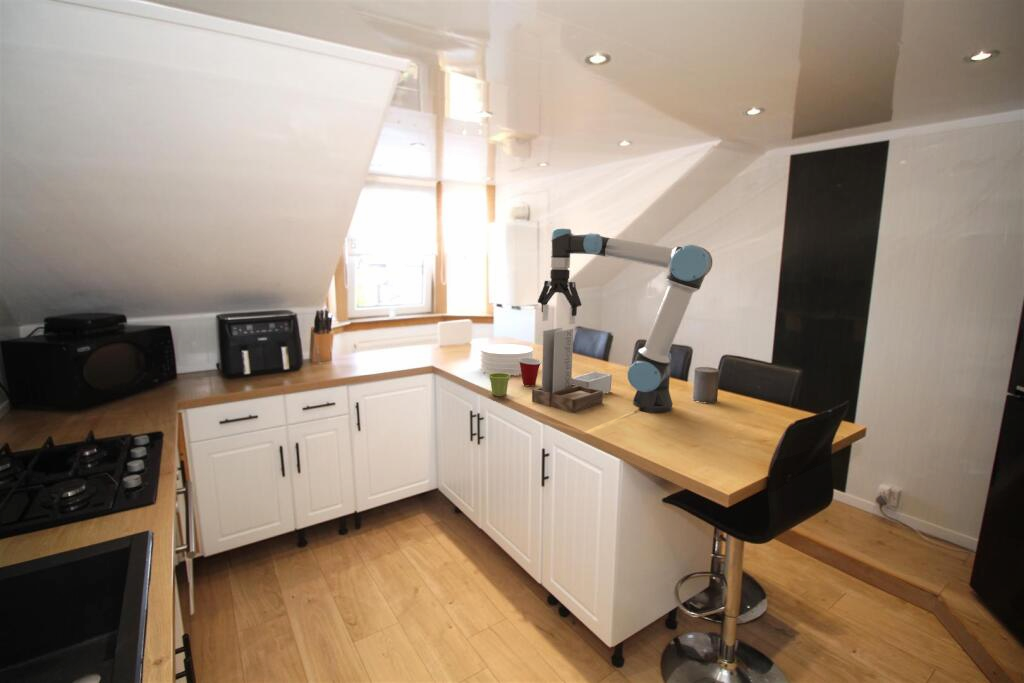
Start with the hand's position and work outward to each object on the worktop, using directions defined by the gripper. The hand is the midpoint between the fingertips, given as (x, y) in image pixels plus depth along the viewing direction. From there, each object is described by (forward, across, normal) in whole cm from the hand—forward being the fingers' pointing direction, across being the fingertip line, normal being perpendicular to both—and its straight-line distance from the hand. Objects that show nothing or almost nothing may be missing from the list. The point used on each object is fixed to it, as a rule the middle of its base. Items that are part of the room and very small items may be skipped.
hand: (558, 322), depth 184 cm
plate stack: (+34, +55, -27) cm, 70 cm away
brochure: (+33, 0, 0) cm, 33 cm away
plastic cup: (+33, +25, -12) cm, 43 cm away
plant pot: (+33, +23, +10) cm, 42 cm away
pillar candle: (+33, -43, -47) cm, 72 cm away
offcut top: (+30, -10, 0) cm, 32 cm away
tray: (+33, -6, 0) cm, 33 cm away
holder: (+33, -4, -20) cm, 39 cm away
